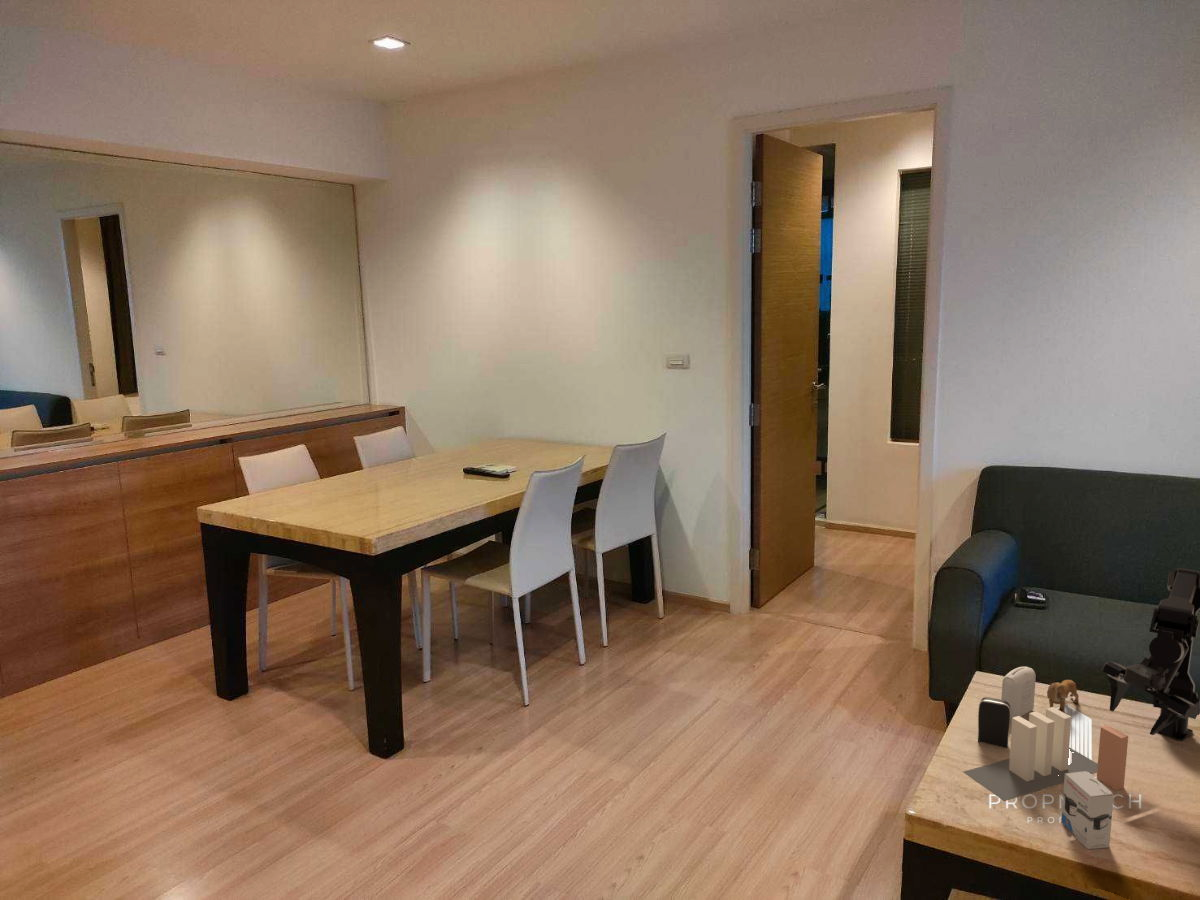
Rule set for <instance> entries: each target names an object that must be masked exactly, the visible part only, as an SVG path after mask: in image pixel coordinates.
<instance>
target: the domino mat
mask: <svg viewBox="0 0 1200 900" xmlns="http://www.w3.org/2000/svg"><path fill="white" fill-rule="evenodd" d="M1069 749H1070V751H1071V752H1074V753H1072V763H1071V764H1070V765H1068V769H1067V770H1064V771H1060V770H1058V769H1056V768H1055V767H1053V766H1051V774H1050V775H1047V776H1043V775H1041V774H1040V773H1038V772H1037V771H1035V770H1034V780H1030V781H1025V780H1024V779H1022V778H1021V777H1019V776H1018V775H1016V774H1015V773H1013V772H1012V771H1010V770H1009V763H1010V757H1009V758H1005V759H1003V760H999V761H995V762H992V763H988V764H985V765H983V766H982V765H981V766H978V767H974V768H971V769H968V770H965V771H963V773H964V774H965V775H966V776H968V777H970V778H971V779H972V780H973V781H975V782H976V783H978V784H979V785H980V786H982V787H983V788H985V789H986V790H988V791H989V792H991V793H992V794H993V795H995V796H996V797H998V798H999V799H1000V800H1002V801H1003V802H1006V801H1009V800H1012V799H1015V798H1018V797H1022V796H1025V795H1029V794H1032V793H1035V792H1038V791H1041V790H1044V789H1048V788H1050V787H1055V786H1058V785H1062V784H1064V778H1065V773H1072V772H1082V771H1086V772H1089V773H1090V774H1091V775H1094V774H1097V768H1098V762H1096V761H1094V760H1092V759H1090V758H1089V757H1087V756H1086V755H1084V754H1082V753H1080V752H1078V751H1077V750H1075V749H1073V748H1072V747H1070V746H1069ZM1058 775H1059V776H1058Z"/></svg>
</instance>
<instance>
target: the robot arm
mask: <svg viewBox="0 0 1200 900" xmlns="http://www.w3.org/2000/svg"><path fill="white" fill-rule="evenodd" d="M1166 584H1167V585H1166V587H1167V590H1168V591H1169V592H1170V593H1169V596H1168V597H1167V598H1164V599H1161V600H1160V601H1159V604H1158V607H1154V608H1153V614H1152V618H1151V623H1150V627H1149V633H1150V632H1151V633H1155V634H1157V635H1156V637H1154V638H1153V639H1151V642H1150V643H1149V646H1148V650H1149V656H1148V657H1144V658H1143V660H1142V661H1141V662H1140V663H1135V664H1131V665H1127V666H1124V665H1122V664H1121V663H1117V662H1114V661H1111V660H1109V661H1107V662H1105V663H1104V664H1103V665H1102V668H1101V671H1102V672H1103V673H1105V678H1106V679H1108V681H1109V684H1110V699H1109V700H1110V701H1109V711H1110V712H1115V710H1116V709H1117V708H1118V706H1119V704H1120V703H1121V701H1122V700H1123V697H1124V696H1125V694H1126V693H1127V691H1128V689H1129V687H1130V686H1131V685H1133V686H1134V687H1135V688H1137V689H1138V690H1142V691H1144V692H1146V693H1148V694H1150V695H1152V696H1153V700H1152V701H1153V702H1152V703H1153V704H1152V705H1153V706H1152V707H1153V708H1157V709H1160V713H1159V717H1158V718H1157V719H1156V721H1155V723H1154V724H1153V726H1152V727H1151V730H1150V732H1149V735H1151V736H1154V735H1156V734H1157V733H1159V734H1162V735H1164V736H1168V737H1171V738H1172V739H1173V738H1174V739H1176V740H1178V741H1184V740H1185V739H1186V738H1188V737H1189V736H1190V735H1192V734H1193V733H1194V730H1192V729H1190V728H1188V727H1189V718H1190V719H1194V720H1196V719H1197V717H1198V716H1199V715H1200V698H1199V695H1198V692H1196V691H1195V690H1196V683H1195V682H1194V680H1193V678H1192V676H1191V673H1190V667H1191V661H1192V652H1193V643H1194V638H1197V636H1198V635H1197V634H1198V629H1199V626H1200V620H1199V618H1198V615H1197V614H1198V612H1199V611H1200V571H1198V570H1195V569H1189V568H1183V567H1182V568H1181V567H1179V568H1175V570H1174V571H1170V572H1169V573H1168V579H1167V583H1166ZM1129 683H1130V684H1131V685H1130V684H1129Z"/></svg>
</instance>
